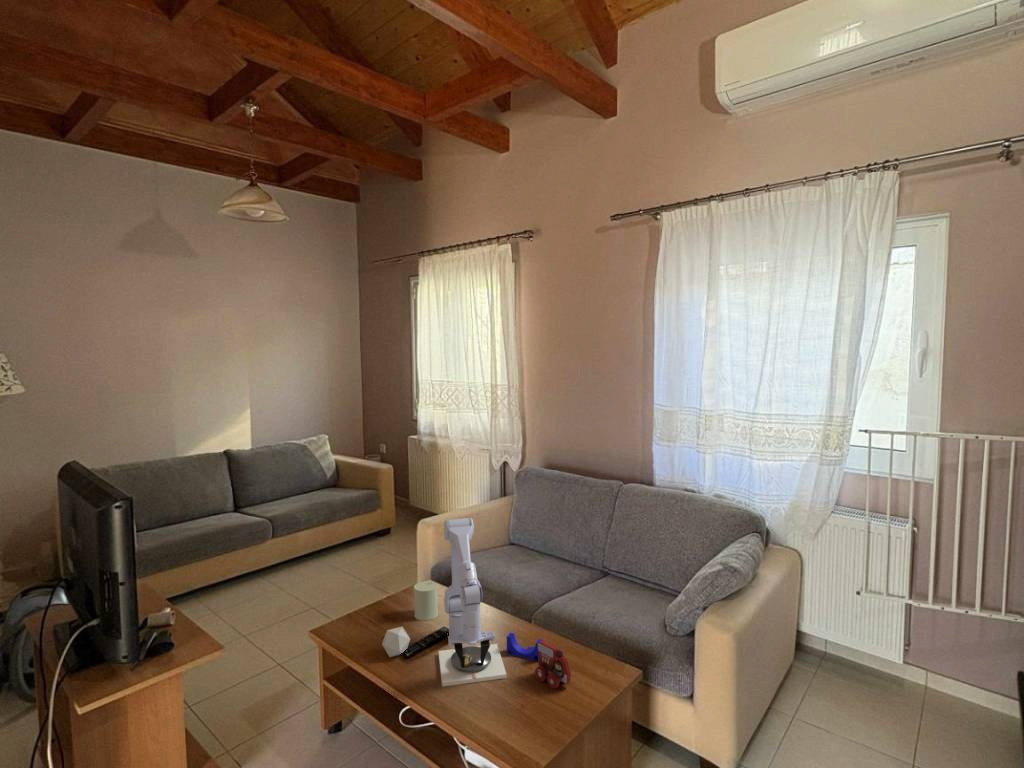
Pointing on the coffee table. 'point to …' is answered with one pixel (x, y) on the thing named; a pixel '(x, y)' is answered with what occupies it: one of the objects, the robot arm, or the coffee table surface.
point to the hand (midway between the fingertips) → (472, 664)
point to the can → (426, 600)
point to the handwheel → (470, 659)
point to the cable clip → (521, 648)
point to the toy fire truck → (552, 665)
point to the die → (395, 641)
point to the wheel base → (462, 677)
